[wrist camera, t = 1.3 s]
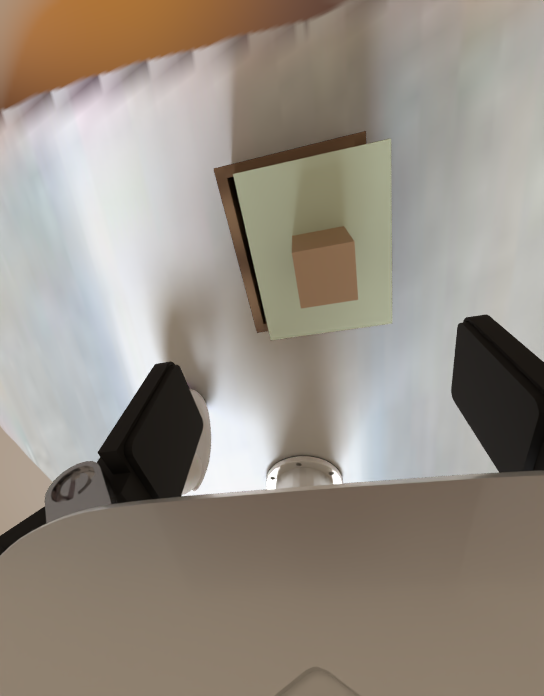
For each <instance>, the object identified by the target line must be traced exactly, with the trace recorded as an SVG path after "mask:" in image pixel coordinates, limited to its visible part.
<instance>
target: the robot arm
mask: <svg viewBox="0 0 544 696" xmlns="http://www.w3.org/2000/svg"><path fill="white" fill-rule="evenodd" d="M451 393H452V397H453V400H454V402H455V403H456V405H457V407H458V408H459V410H460V411H461V413H462V414H463V416H464V418H465V419H466V421H467V422H468V424H469V425H470V427H471V429H472V430H473V432H474V433H475V435H476V437H477V438H478V440H479V441H480V443H481V444H482V446H483V448H484V449H485V451H486V452H487V454H488V455H489V457H490V459H491V460H492V462H493V463H494V465H495V466H496V468H497V470H498V471H499V473H484V474H467V475H452V476H438V477H425V478H411V479H397V480H383V481H369V482H356V483H343V482H342V476H341V474H340V472H339V471H338V469H337V468H336V467H335V466H333V465H332V464H331V463H329V462H327V461H325V460H322V459H319V458H316V457H310V456H296V457H291V458H287V459H284V460H282V461H280V462H278V463H276V464H275V465H274V466H273V467H272V468H271V469H270V470H269V472H268V475H267V480H266V487H267V489H266V490H254V491H242V492H230V493H218V494H206V495H194V496H182V497H181V495H182V492H183V489H184V486H185V483H186V480H187V477H188V474H189V470H190V467H191V464H192V461H193V458H194V455H195V452H196V449H197V446H198V443H199V440H200V437H201V434H202V431H203V419H202V417H201V414H200V412H199V410H198V408H197V405H196V403H195V401H194V398H193V396H192V394H191V391H190V389H189V387H188V385H187V382H186V380H185V378H184V375H183V373H182V371H181V368H180V367H179V366H178V365H175V364H174V363H173V362H166V363H159V364H155V365H154V367H153V368H152V370H151V371H150V373H149V374H148V376H147V377H146V379H145V380H144V382H143V384H142V385H141V387H140V388H139V390H138V391H137V393H136V394H135V396H134V397H133V399H132V400H131V402H130V404H129V405H128V407H127V408H126V410H125V411H124V413H123V414H122V416H121V417H120V419H119V420H118V422H117V424H116V425H115V427H114V428H113V430H112V431H111V433H110V434H109V436H108V437H107V439H106V440H105V442H104V444H103V445H102V447H101V448H100V450H99V451H98V454H99V456H100V459H99V460H98V462H97V463H96V462H93V461H86V462H82V463H79V464H77V465H74V466H72V467H70V468H69V469H67V470H66V471H64V472H63V473H62V474H61V475H60V476H58V477H57V478H56V479H55V480H54V481H53V483H52V484H51V485H50V486H49V488H48V490H47V492H46V495H45V507H43V508H42V509H40V510H39V511H37V512H36V513H34V514H33V515H31V516H30V517H28V518H26V519H25V520H24V521H22V522H20V523H19V524H17V525H16V526H14V527H13V528H11V529H10V530H8V531H7V532H5V533H4V534H2V535H1V536H0V696H544V362H543V361H542V360H540V359H539V358H538V357H537V356H536V355H535V354H533V353H532V352H531V351H530V350H529V349H528V348H526V347H525V346H524V345H523V344H522V343H520V342H519V341H518V340H517V339H516V338H515V337H513V336H512V335H511V334H510V333H509V332H508V331H506V330H505V329H504V328H503V327H502V326H501V325H499V324H498V323H497V322H496V321H495V320H493V319H492V318H491V317H490V316H488V315H480V316H473V317H467V318H465V319H464V321H463V323H459V324H458V328H457V337H456V347H455V357H454V368H453V378H452V388H451Z"/></svg>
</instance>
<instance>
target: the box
mask: <svg viewBox="0 0 544 696" xmlns="http://www.w3.org/2000/svg"><path fill="white" fill-rule="evenodd" d="M364 144H366V131H364V132H360V133H356V134H352V135H348V136H344V137H339V138H335V139H331V140H327V141H323V142H319V143H315V144H311V145H307V146H303V147H299V148H295V149H291V150H287V151H283V152H279V153H275V154H271V155H267V156H263V157H259V158H255V159H251V160H247V161H243V162H239V163H235V164H231V165H227V166H222V167H218V168H214V172H215V176H216V180H217V184H218V188H219V191H220V195H221V199H222V203H223V206H224V210H225V214H226V218H227V221H228V225H229V229H230V233H231V236H232V240H233V244H234V248H235V252H236V255H237V259H238V263H239V267H240V270H241V274H242V278H243V282H244V285H245V289H246V293H247V297H248V300H249V304H250V308H251V312H252V316H253V319H254V323H255V327H256V331H257V333H259V332H265V331H269V330H268V326H267V322H266V317H265V313H264V308H263V304H262V300H261V295H260V291H259V286H258V282H257V278H256V273H255V269H254V265H253V260H252V256H251V251H250V247H249V243H248V238H247V234H246V229H245V225H244V221H243V216H242V212H241V207H240V203H239V199H238V194H237V190H236V185H235V181H234V177H233V174H235V173H240V172H244V171H249V170H253V169H257V168H262V167H266V166H271V165H275V164H280V163H284V162H289V161H293V160H297V159H302V158H306V157H311V156H315V155H320V154H324V153H329V152H333V151H337V150H342V149H346V148H351V147H355V146H360V145H364Z"/></svg>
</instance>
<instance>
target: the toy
mask: <svg viewBox="0 0 544 696" xmlns="http://www.w3.org/2000/svg"><path fill="white" fill-rule="evenodd" d="M190 391H191V394H192V396H193V398H194V401H195V403H196V405H197V408H198V410H199V412H200V414H201V417H202V419H203V431H202V434H201V437H200V440H199V443H198V446H197V449H196V452H195V455H194V458H193V461H192V464H191V467H190V470H189V474H188V477H187V480H186V483H185V486H184V489H183V492H182V495H183V494H185V493H187V492H189V491H191V490H193V491H196V490H197V489H198V488H199V486H200V485H201V483H202V481H203V479H204V476H205V473H206V470H207V467H208V464H209V458H210V450H211V427H210V419H209V413H208V409H207V405H206V403H205V401H204V399H203V397H202V396H201V395H200V394H199V393H198V392H196V391H195V390H192V389H190Z"/></svg>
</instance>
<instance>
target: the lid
mask: <svg viewBox="0 0 544 696" xmlns="http://www.w3.org/2000/svg"><path fill="white" fill-rule="evenodd" d="M233 177H234V181H235V185H236V190H237V194H238V199H239V203H240V207H241V212H242V216H243V221H244V225H245V229H246V234H247V238H248V243H249V247H250V251H251V256H252V260H253V265H254V269H255V273H256V278H257V282H258V286H259V291H260V295H261V300H262V304H263V308H264V313H265V317H266V322H267V326H268V330H269V335H270V339H271V340H278V339H285V338H292V337H300V336H307V335H314V334H321V333H328V332H335V331H342V330H349V329H356V328H363V327H370V326H378V325H385V324H392V214H391V139H386V140H382V141H377V142H373V143H368V144H364V145H360V146H355V147H351V148H346V149H342V150H337V151H333V152H329V153H324V154H320V155H315V156H311V157H306V158H302V159H297V160H293V161H289V162H284V163H280V164H275V165H271V166H266V167H262V168H257V169H253V170H249V171H244V172H240V173H235V174H233Z"/></svg>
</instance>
